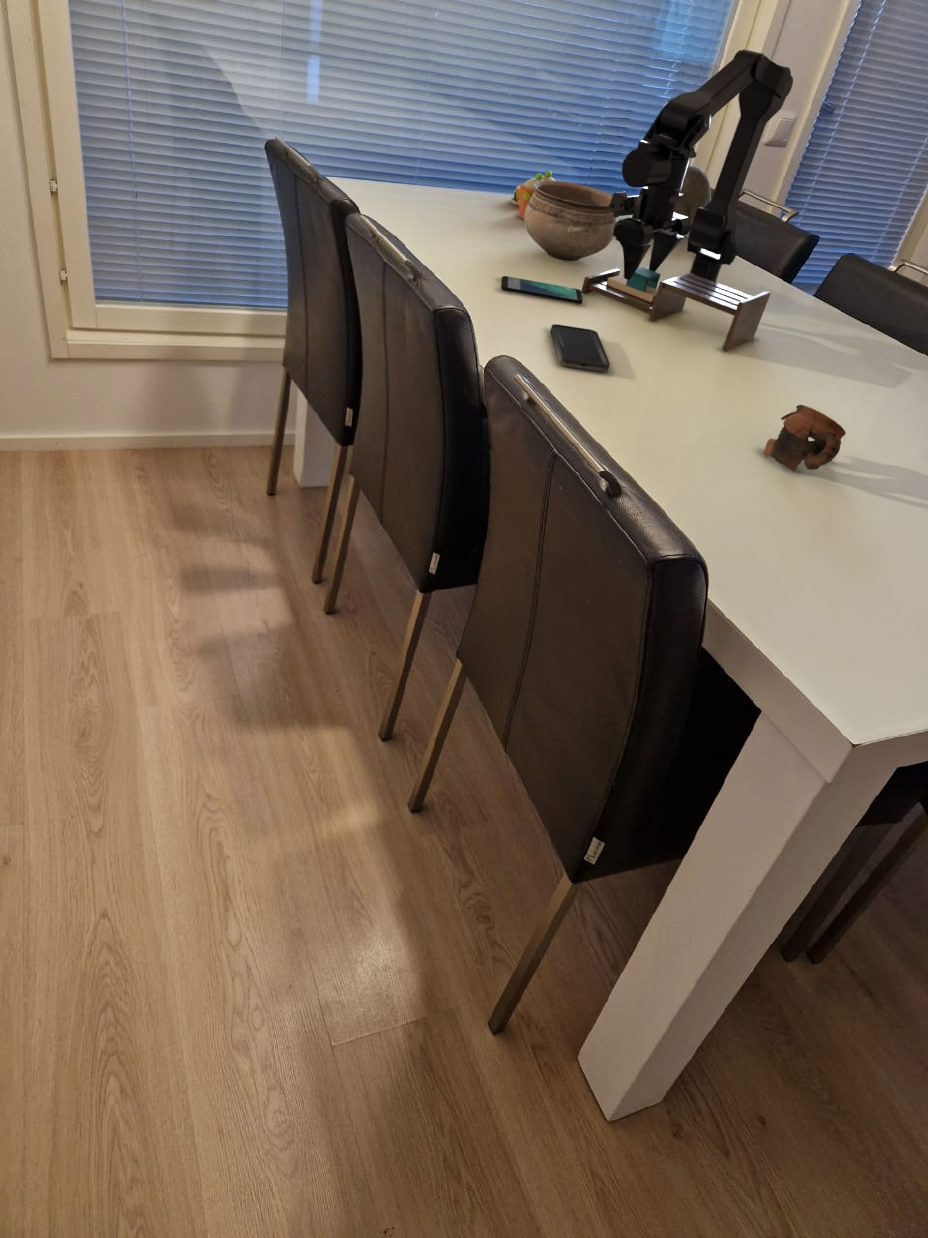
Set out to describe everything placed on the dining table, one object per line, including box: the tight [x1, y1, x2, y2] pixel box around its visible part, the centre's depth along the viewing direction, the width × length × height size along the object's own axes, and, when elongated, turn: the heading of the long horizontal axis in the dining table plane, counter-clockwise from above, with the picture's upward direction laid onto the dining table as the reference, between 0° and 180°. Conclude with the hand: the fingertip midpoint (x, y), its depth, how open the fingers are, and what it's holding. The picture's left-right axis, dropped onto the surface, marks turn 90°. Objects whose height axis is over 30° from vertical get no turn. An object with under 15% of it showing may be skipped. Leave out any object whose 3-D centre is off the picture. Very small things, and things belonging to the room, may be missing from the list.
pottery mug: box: [762, 404, 847, 472], centre depth 118 cm, size 12×10×8 cm
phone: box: [549, 323, 611, 373], centre depth 138 cm, size 8×1×15 cm
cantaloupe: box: [674, 164, 712, 235], centre depth 209 cm, size 14×14×15 cm
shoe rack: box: [580, 268, 771, 353], centre depth 158 cm, size 12×31×8 cm, turn 51°
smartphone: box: [500, 275, 584, 305], centre depth 159 cm, size 7×1×15 cm
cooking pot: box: [523, 180, 617, 262], centre depth 177 cm, size 25×19×12 cm
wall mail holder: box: [606, 266, 662, 302], centre depth 161 cm, size 5×10×4 cm, turn 51°
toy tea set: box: [510, 170, 556, 220], centre depth 204 cm, size 26×16×10 cm, turn 7°
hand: (639, 275), depth 161 cm, fingers open, 9 cm apart
